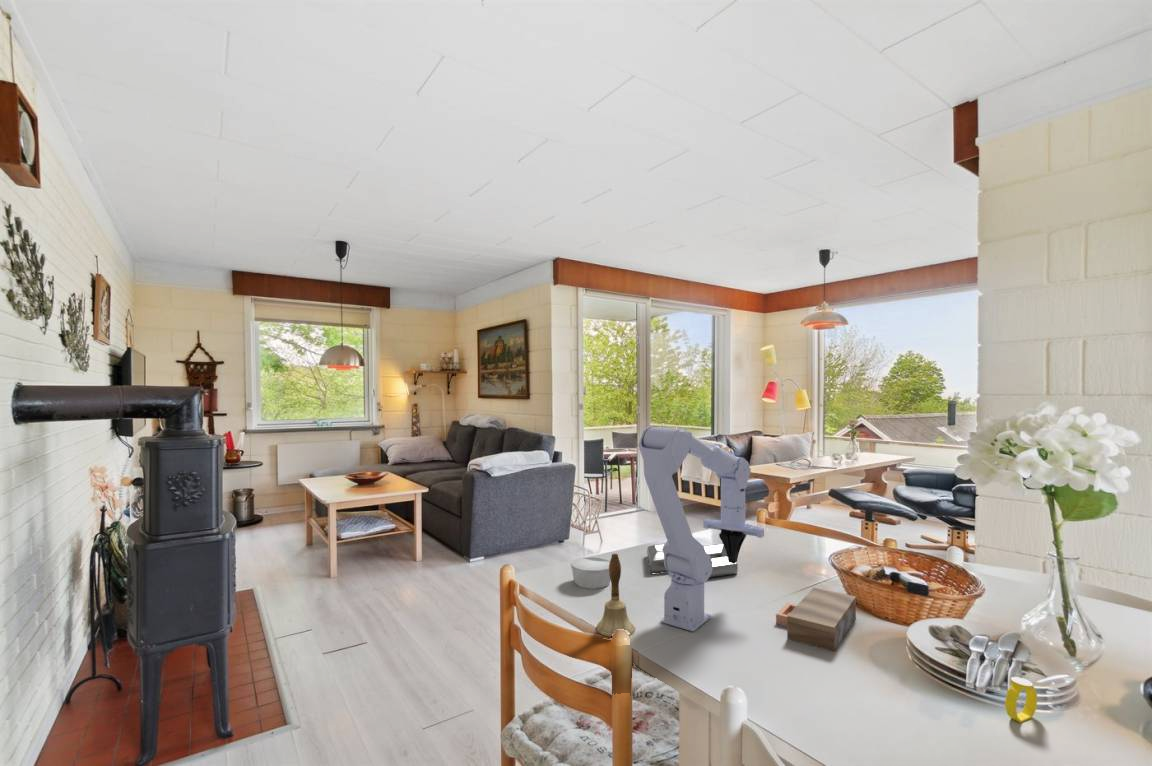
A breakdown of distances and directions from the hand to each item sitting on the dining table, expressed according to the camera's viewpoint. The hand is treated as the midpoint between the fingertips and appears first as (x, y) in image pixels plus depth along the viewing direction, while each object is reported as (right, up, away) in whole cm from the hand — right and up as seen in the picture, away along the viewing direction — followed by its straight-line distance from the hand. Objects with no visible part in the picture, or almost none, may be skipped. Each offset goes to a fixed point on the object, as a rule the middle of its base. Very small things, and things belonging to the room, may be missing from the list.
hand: (732, 562), depth 133 cm
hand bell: (-29, -10, -15) cm, 34 cm away
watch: (+32, -10, -47) cm, 57 cm away
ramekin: (-34, -10, +12) cm, 37 cm away
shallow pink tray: (+13, -9, -13) cm, 21 cm away
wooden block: (+15, -9, -14) cm, 23 cm away
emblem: (-5, -10, +26) cm, 29 cm away
